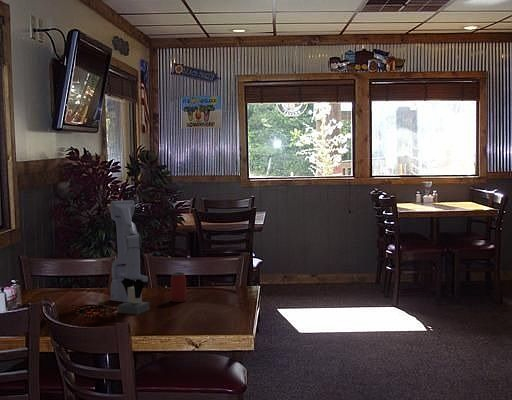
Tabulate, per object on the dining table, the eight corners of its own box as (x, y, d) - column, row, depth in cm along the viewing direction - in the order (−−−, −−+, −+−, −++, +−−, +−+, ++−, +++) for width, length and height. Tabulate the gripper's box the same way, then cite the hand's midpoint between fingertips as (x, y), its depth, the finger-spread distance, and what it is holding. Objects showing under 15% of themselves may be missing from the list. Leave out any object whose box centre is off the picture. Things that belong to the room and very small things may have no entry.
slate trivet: (118, 312, 276) (118, 305, 276) (131, 307, 284) (131, 300, 284) (137, 314, 272) (136, 307, 272) (149, 309, 280) (149, 302, 280)
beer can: (183, 302, 292) (183, 275, 291) (169, 302, 294) (168, 274, 293) (188, 299, 299) (187, 272, 298) (173, 299, 300) (173, 272, 299)
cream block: (127, 302, 278) (127, 287, 277) (134, 300, 281) (134, 286, 281) (134, 303, 275) (134, 288, 275) (141, 301, 279) (141, 287, 278)
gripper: (113, 264, 278) (114, 297, 279) (138, 267, 269) (139, 301, 270) (125, 261, 283) (126, 294, 284) (151, 264, 275) (152, 297, 276)
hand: (133, 297), depth 278 cm, fingers closed on cream block, 4 cm apart
